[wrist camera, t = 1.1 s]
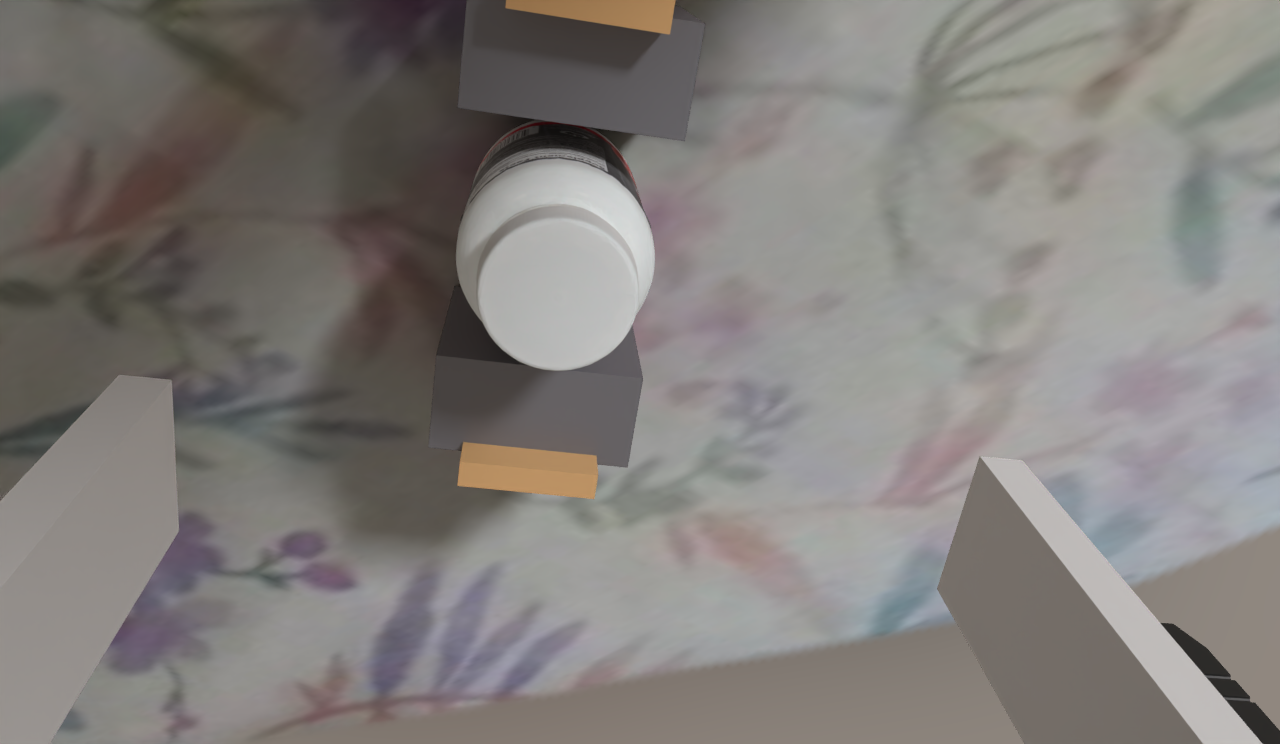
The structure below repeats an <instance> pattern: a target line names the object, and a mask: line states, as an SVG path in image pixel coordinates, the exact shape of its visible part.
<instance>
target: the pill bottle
mask: <svg viewBox="0 0 1280 744" xmlns="http://www.w3.org/2000/svg"><path fill="white" fill-rule="evenodd" d="M654 266H655V251H654V241H653V236H652V231H651V226H650V223H649V221H648V218H647V216H646V214H645V212H644V210H643V207H642V203H641V200H640V197H639V194H638V190H637V187H636V184H635V181H634V178H633V176H632V173H631V171H630V169H629V167H628V164H627V163H626V161H625V159H624V157H623V156H622V154H621V153H620V151H619V150H618V149H617V148H616V147H615V146H614V145H613V144H612V143H611V142H610V141H609V139H607V138H606V137H605V136H604V135H602V134H601V133H599V132H598V131H596V130H594V129H592V128H590V127H585V126H578V125H571V124H564V123H557V122H551V121H544V120H536V121H531V122H528V123H525V124H522V125H520V126H518V127H516V128H514V129H512V130H511V131H509V132H508V133H506V134H505V135H503V136H502V137H501V138H500V139H499V140H498V141H497V142H496V143H495V144H494V145H493V146H492V147H491V149H490V150H489V151H488V153H487V154H486V155H485V157H484V159H483V160H482V162H481V164H480V166H479V168H478V171H477V173H476V176H475V179H474V181H473V184H472V188H471V191H470V195H469V198H468V201H467V205H466V208H465V211H464V214H463V215H462V217H461V223H460V226H459V230H458V238H457V246H456V267H457V273H458V278H459V282H460V285H461V288H462V291H463V293H464V295H465V297H466V299H467V301H468V303H469V304H470V306H471V308H472V309H473V311H474V312H475V314H476V315H477V317H478V318H479V319H480V320H481V321H482V322H483V325H484V327H485V329H486V330H487V332H488V334H489V335H490V337H491V338H492V339H493V341H494V342H495V343H496V344H497V345H498V346H499V347H500V348H501V349H502V350H503V351H504V352H506V353H507V354H508V355H510V356H511V357H513V358H514V359H516V360H517V361H519V362H521V363H524V364H526V365H529V366H531V367H535V368H539V369H543V370H552V371H565V370H573V369H577V368H581V367H585V366H588V365H590V364H593V363H594V362H596V361H598V360H600V359H602V358H603V357H605V356H606V355H608V354H609V353H611V352H612V351H613V350H614V349H615V348H616V347H617V346H618V345H619V344H620V343H621V342H622V341H623V339H624V338H625V336H626V335H627V333H628V332H629V330H630V328H631V326H632V324H633V322H634V319H635V316H636V314H637V313H638V311H639V310H640V308H641V307H642V305H643V303H644V301H645V299H646V297H647V295H648V292H649V290H650V287H651V284H652V279H653V274H654Z"/></svg>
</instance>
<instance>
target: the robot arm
mask: <svg viewBox="0 0 1280 744" xmlns="http://www.w3.org/2000/svg"><path fill="white" fill-rule="evenodd" d="M178 532H179V519H178V498H177V477H176V456H175V436H174V415H173V394H172V380H170V379H159V378H149V377H138V376H127V375H118V377H117V378H116V379H115V380H114V381H113V382H112V383H111V384H110V385H109V386H108V387H107V388H106V389H105V390H104V391H103V392H102V393H101V395H100V396H99V397H98V398H97V399H96V400H95V401H94V402H93V403H92V404H91V405H90V406H89V407H88V408H87V409H86V410H85V412H84V413H83V414H82V415H81V416H80V417H79V418H78V419H77V420H76V421H75V422H74V423H73V424H72V425H71V426H70V427H69V429H68V430H67V431H66V432H65V433H64V434H63V435H62V436H61V437H60V438H59V439H58V440H57V441H56V442H55V443H54V444H53V445H52V447H51V448H50V449H49V450H48V451H47V452H46V453H45V454H44V455H43V456H42V457H41V458H40V459H39V460H38V461H37V462H36V464H35V465H34V466H33V467H32V468H31V469H30V470H29V471H28V472H27V473H26V474H25V475H24V476H23V477H22V478H21V479H20V481H19V482H18V483H17V484H16V485H15V486H14V487H13V488H12V489H11V490H10V491H9V492H8V493H7V494H6V495H5V496H4V497H3V499H2V500H1V501H0V744H50V742H51V741H52V739H53V737H54V736H55V734H56V732H57V731H58V729H59V728H60V726H61V724H62V723H63V721H64V719H65V718H66V716H67V714H68V713H69V711H70V709H71V708H72V706H73V705H74V703H75V701H76V700H77V698H78V696H79V695H80V693H81V691H82V690H83V688H84V686H85V685H86V683H87V682H88V680H89V678H90V677H91V675H92V673H93V672H94V670H95V668H96V667H97V665H98V663H99V662H100V660H101V658H102V657H103V655H104V654H105V652H106V650H107V649H108V647H109V645H110V644H111V642H112V640H113V639H114V637H115V635H116V634H117V632H118V631H119V629H120V627H121V626H122V624H123V622H124V621H125V619H126V617H127V616H128V614H129V612H130V611H131V609H132V608H133V606H134V604H135V603H136V601H137V599H138V598H139V596H140V594H141V593H142V591H143V589H144V588H145V586H146V584H147V583H148V581H149V580H150V578H151V576H152V575H153V573H154V571H155V570H156V568H157V566H158V565H159V563H160V561H161V560H162V558H163V557H164V555H165V553H166V552H167V550H168V548H169V547H170V545H171V543H172V542H173V540H174V538H175V537H176V535H177V534H178ZM937 589H938V591H939V593H940V595H941V597H942V598H943V600H944V602H945V604H946V605H947V607H948V609H949V611H950V613H951V614H952V616H953V618H954V620H955V621H956V623H957V625H958V627H959V629H960V630H961V632H962V634H963V636H964V637H965V639H966V641H967V643H968V645H969V646H970V648H971V650H972V652H973V653H974V655H975V657H976V659H977V661H978V662H979V664H980V666H981V668H982V669H983V671H984V673H985V675H986V677H987V678H988V680H989V682H990V684H991V686H992V687H993V689H994V691H995V693H996V694H997V696H998V698H999V700H1000V702H1001V703H1002V705H1003V707H1004V708H1005V710H1006V712H1007V714H1008V716H1009V717H1010V719H1011V721H1012V723H1013V725H1014V726H1015V728H1016V730H1017V731H1018V734H1019V735H1020V737H1021V739H1022V741H1023V742H1024V744H1280V731H1279V729H1278V728H1277V727H1276V726H1275V725H1274V724H1273V723H1272V722H1271V720H1270V719H1269V718H1268V717H1267V716H1266V715H1265V714H1264V712H1263V711H1262V710H1261V709H1260V708H1259V707H1258V706H1257V705H1256V703H1252V702H1250V696H1249V695H1248V694H1247V693H1246V692H1245V691H1244V690H1243V689H1242V687H1241V686H1240V685H1239V684H1238V683H1237V682H1236V681H1235V680H1231V679H1230V674H1229V673H1228V672H1227V670H1226V669H1225V668H1224V667H1223V666H1222V665H1221V664H1220V663H1219V661H1218V660H1217V659H1216V658H1215V657H1214V656H1213V655H1212V654H1211V652H1210V651H1209V650H1208V649H1207V648H1206V647H1204V646H1203V645H1202V644H1200V643H1199V642H1198V641H1196V640H1195V639H1193V638H1192V637H1190V636H1189V635H1188V634H1186V633H1185V632H1184V631H1182V630H1180V628H1178V627H1177V626H1175V625H1174V624H1168V623H1159V621H1158V620H1157V619H1156V618H1155V617H1154V615H1153V614H1152V613H1151V612H1150V611H1149V609H1148V608H1147V607H1146V606H1145V605H1144V603H1143V602H1142V601H1141V600H1140V599H1139V598H1138V596H1137V595H1136V594H1135V593H1134V592H1133V590H1132V589H1131V588H1130V587H1129V586H1128V585H1127V583H1126V582H1125V581H1124V580H1123V579H1122V577H1121V576H1120V575H1119V574H1118V573H1117V572H1116V570H1115V569H1114V568H1113V567H1112V566H1111V565H1110V563H1109V562H1108V561H1107V560H1106V559H1105V557H1104V556H1103V555H1102V554H1101V553H1100V552H1099V550H1098V549H1097V548H1096V547H1095V546H1094V544H1093V543H1092V542H1091V541H1090V540H1089V539H1088V537H1087V536H1086V535H1085V534H1084V533H1083V532H1082V530H1081V529H1080V528H1079V527H1078V526H1077V524H1076V523H1075V522H1074V521H1073V520H1072V519H1071V517H1070V516H1069V515H1068V514H1067V513H1066V511H1065V510H1064V509H1063V508H1062V507H1061V506H1060V504H1059V503H1058V502H1057V501H1056V500H1055V499H1054V497H1053V496H1052V495H1051V494H1050V493H1049V491H1048V490H1047V489H1046V488H1045V487H1044V486H1043V484H1042V483H1041V482H1040V481H1039V480H1038V478H1037V477H1036V476H1035V475H1034V474H1033V473H1032V471H1031V470H1030V469H1029V468H1028V467H1027V465H1026V464H1025V463H1024V462H1023V461H1022V460H1014V459H1003V458H993V457H982V456H980V457H979V460H978V463H977V467H976V470H975V473H974V476H973V479H972V482H971V485H970V488H969V491H968V494H967V498H966V501H965V504H964V507H963V510H962V513H961V516H960V519H959V522H958V526H957V529H956V532H955V535H954V538H953V541H952V544H951V547H950V550H949V554H948V557H947V560H946V563H945V566H944V569H943V572H942V575H941V578H940V582H939V585H938V588H937Z"/></svg>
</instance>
